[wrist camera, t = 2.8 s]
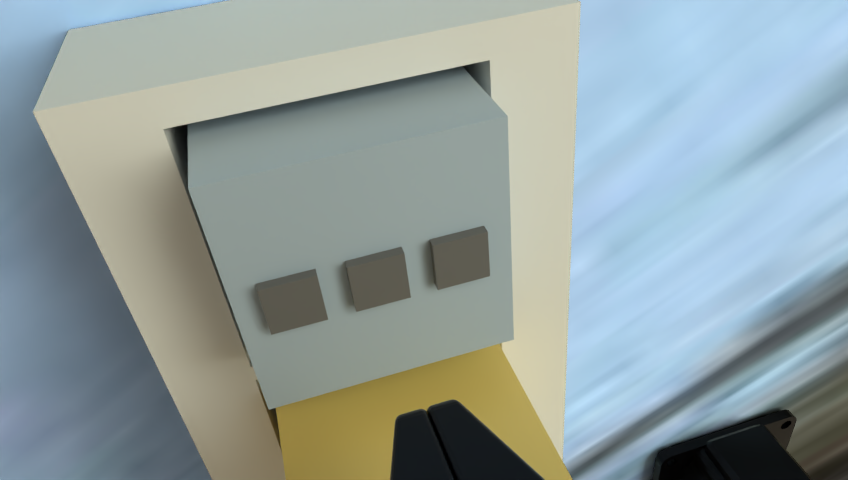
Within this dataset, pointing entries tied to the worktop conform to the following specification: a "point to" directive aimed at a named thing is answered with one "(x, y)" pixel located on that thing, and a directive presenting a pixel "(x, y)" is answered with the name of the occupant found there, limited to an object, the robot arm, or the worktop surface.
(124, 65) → the panel
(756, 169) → the worktop surface
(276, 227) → the slate tile
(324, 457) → the mustard tile
